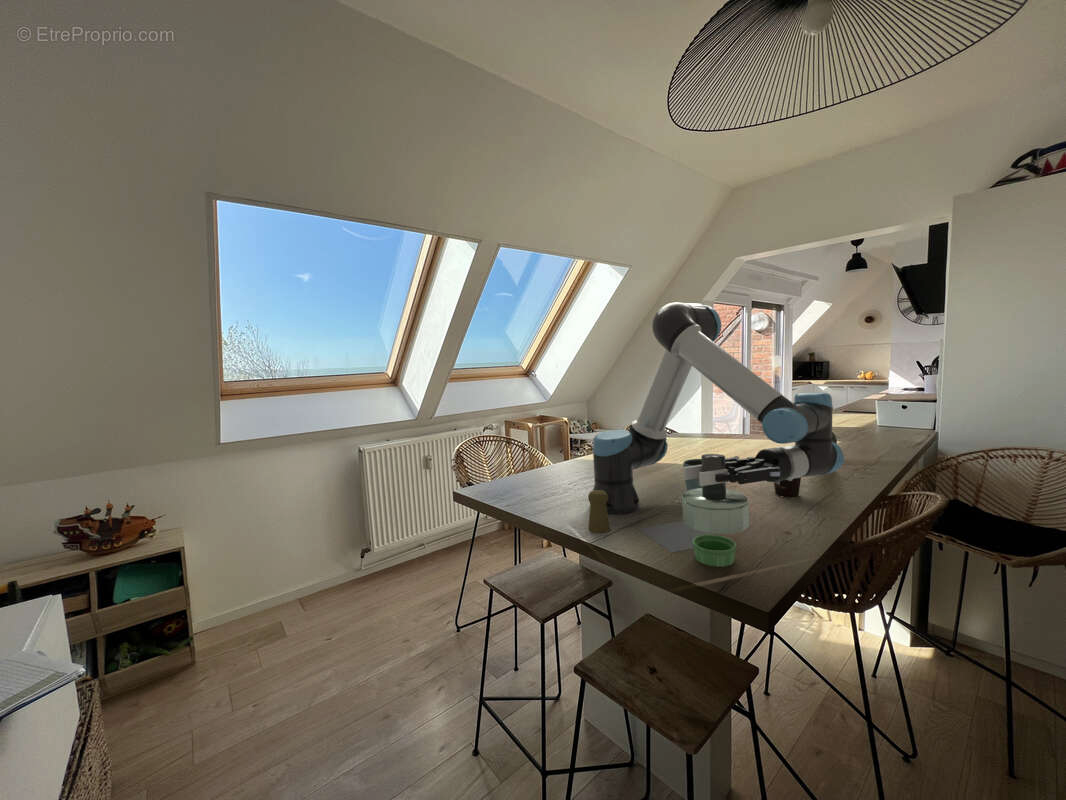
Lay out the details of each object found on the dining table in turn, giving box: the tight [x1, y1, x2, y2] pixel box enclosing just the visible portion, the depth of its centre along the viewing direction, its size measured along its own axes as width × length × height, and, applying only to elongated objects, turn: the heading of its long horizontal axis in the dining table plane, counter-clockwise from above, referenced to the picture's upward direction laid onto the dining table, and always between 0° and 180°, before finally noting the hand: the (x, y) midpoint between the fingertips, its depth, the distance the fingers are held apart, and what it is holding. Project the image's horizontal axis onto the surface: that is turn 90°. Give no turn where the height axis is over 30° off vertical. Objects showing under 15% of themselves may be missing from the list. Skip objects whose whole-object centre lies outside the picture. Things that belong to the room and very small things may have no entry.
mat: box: [636, 520, 717, 554], centre depth 114 cm, size 16×16×1 cm
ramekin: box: [693, 534, 737, 568], centre depth 100 cm, size 9×9×4 cm
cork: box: [587, 489, 611, 534], centre depth 120 cm, size 6×6×11 cm
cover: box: [681, 453, 750, 535], centre depth 98 cm, size 13×13×15 cm
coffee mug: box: [773, 477, 802, 498], centre depth 143 cm, size 12×9×10 cm
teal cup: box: [682, 458, 702, 491], centre depth 141 cm, size 10×10×12 cm
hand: (692, 476), depth 97 cm, fingers closed on cover, 5 cm apart
